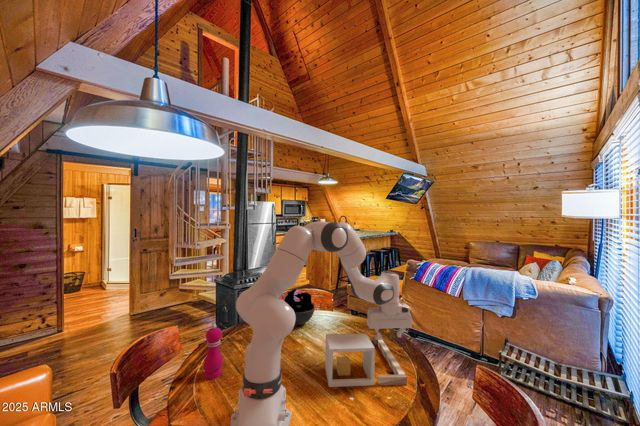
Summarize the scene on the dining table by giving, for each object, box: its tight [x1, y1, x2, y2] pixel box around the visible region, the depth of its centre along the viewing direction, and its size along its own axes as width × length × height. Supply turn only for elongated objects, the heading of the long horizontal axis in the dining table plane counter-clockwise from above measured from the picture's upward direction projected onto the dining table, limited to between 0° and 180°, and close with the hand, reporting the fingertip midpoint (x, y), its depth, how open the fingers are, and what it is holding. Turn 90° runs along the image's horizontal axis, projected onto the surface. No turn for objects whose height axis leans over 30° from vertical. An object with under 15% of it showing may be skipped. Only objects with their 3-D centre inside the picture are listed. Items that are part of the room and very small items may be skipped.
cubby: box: [324, 333, 376, 388], centre depth 107 cm, size 12×17×14 cm
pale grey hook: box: [372, 334, 408, 386], centre depth 120 cm, size 35×12×3 cm, turn 4°
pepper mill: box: [203, 324, 224, 380], centre depth 106 cm, size 7×7×20 cm
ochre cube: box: [335, 355, 352, 377], centre depth 110 cm, size 5×5×5 cm
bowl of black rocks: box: [284, 288, 315, 326], centre depth 157 cm, size 20×20×19 cm
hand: (389, 337), depth 121 cm, fingers open, 8 cm apart
